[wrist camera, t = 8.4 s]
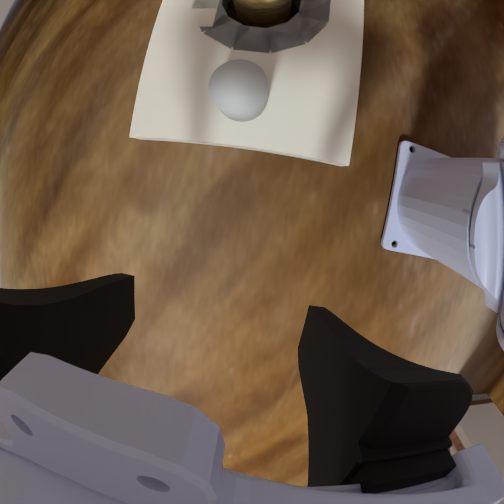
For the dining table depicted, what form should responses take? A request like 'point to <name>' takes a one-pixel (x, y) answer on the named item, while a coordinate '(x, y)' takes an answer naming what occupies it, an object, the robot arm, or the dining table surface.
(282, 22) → the brass cylinder
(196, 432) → the robot arm
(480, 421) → the white stacked column
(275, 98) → the board
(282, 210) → the dining table surface
